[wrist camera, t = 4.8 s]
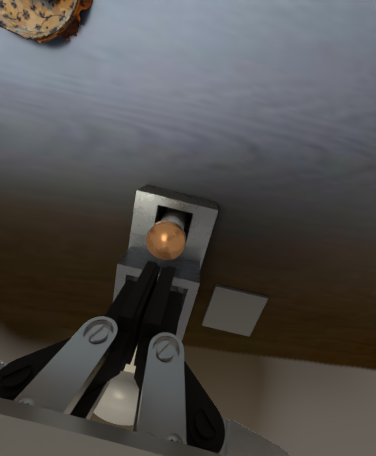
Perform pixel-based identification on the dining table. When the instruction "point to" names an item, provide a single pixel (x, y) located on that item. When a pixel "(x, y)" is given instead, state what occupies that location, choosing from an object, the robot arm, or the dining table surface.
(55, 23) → the burger
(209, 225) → the housing
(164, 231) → the plunger
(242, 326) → the mat
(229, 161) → the dining table surface
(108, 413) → the cylinder
